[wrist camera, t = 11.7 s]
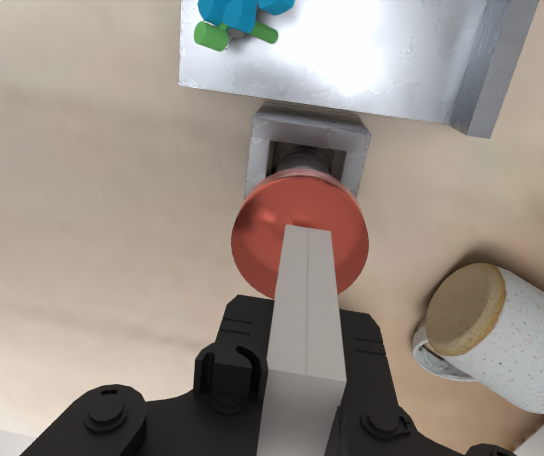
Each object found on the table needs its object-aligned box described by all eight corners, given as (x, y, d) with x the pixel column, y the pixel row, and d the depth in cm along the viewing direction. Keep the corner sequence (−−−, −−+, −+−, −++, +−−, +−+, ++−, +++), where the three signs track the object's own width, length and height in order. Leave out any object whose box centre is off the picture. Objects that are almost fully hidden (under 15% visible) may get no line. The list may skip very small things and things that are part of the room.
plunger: (254, 208, 24) (225, 293, 16) (264, 123, 22) (237, 171, 14) (337, 220, 24) (352, 313, 16) (355, 137, 22) (383, 193, 14)
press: (184, 179, 29) (84, 288, 16) (201, -274, 19) (-10, -899, 6) (440, 218, 28) (548, 361, 16) (588, -225, 19) (1174, -788, 6)
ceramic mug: (472, 237, 29) (523, 301, 22) (562, 290, 30) (637, 367, 23) (382, 336, 33) (400, 415, 26) (463, 379, 34) (501, 466, 27)
